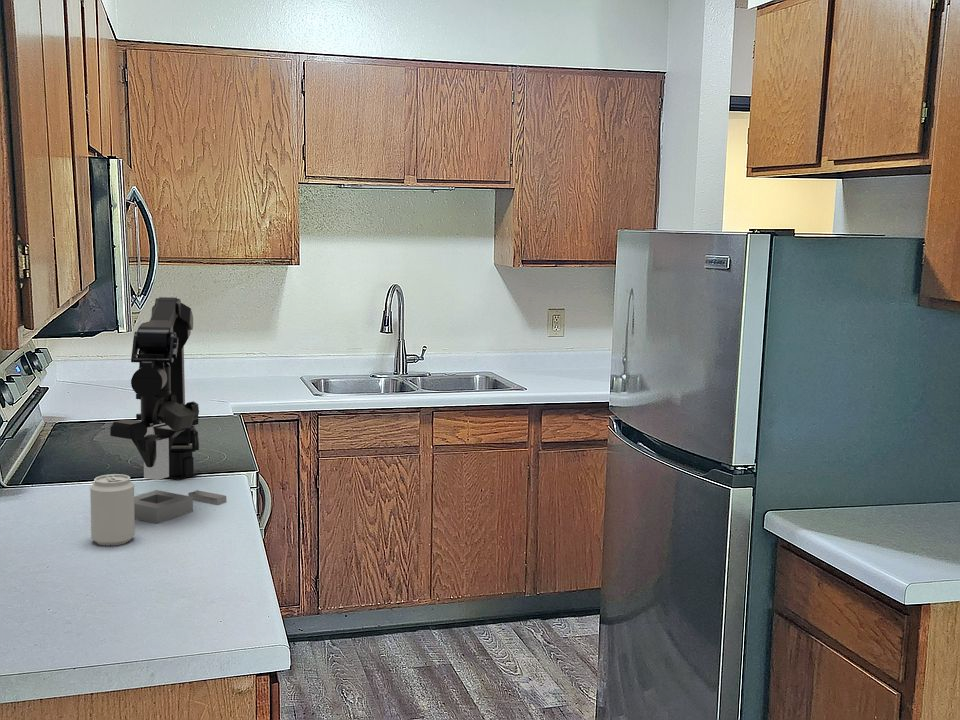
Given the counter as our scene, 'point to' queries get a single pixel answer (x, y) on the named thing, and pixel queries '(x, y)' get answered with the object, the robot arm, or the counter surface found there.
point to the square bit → (159, 460)
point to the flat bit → (208, 497)
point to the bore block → (161, 506)
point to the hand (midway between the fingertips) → (156, 465)
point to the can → (112, 509)
